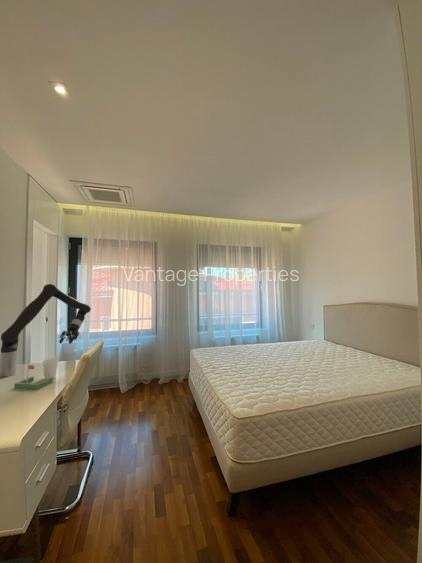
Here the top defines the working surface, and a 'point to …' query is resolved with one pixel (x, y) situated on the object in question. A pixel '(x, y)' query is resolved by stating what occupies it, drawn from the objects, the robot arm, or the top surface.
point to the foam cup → (50, 367)
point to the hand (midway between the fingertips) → (64, 343)
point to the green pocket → (26, 382)
